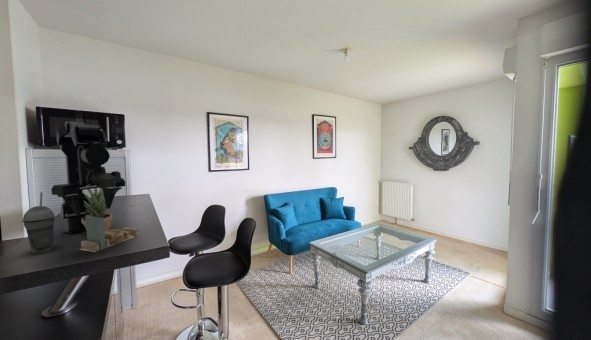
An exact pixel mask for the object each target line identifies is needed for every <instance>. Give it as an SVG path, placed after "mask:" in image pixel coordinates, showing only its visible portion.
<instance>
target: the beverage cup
mask: <svg viewBox="0 0 591 340" xmlns="http://www.w3.org/2000/svg"><path fill="white" fill-rule="evenodd" d="M55 218H56V215H55V213H54V212H53V210H52V209H51V208H50V207H48V206H44V205H43V191H41V192H40V193H39V205H37V206H33V207H31V208H28V210H27V211H25V213H24V215H23V218H22V223H23V226H24V228H25V231H26V234H27V239H28V243H29V246H30V251H31V253H32V254H33V255H37V254H43V253H47V252H50V251H52V250H53V248H54V224H55Z"/></svg>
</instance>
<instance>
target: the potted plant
mask: <svg viewBox="0 0 591 340" xmlns="http://www.w3.org/2000/svg"><path fill="white" fill-rule="evenodd" d="M86 190H87V192H88V193H89V196H88V195H87V194H86V193H85V192H84V191H83V194H84V195H85V196H86V198H87V199H88V200H89V201H90V203H91V204H92V205H91V204H88V203H87V202H85V201H84V203H85V204H86V205H87V206H86V205H85V204H84V205H85V206H86V207H87V208H88V209H89V210H91V211H89V210H88V209H86V210H87V211H88V212H89V213H91V214H89V215H86V217H90V216H92V217H101V218H103V220H104V231H106V230H109V229H111V222H112V220H113V219H114V218H113V213H109V212H108V211H107V210H108V209H107V207H106V204H105V199H104V194H103V189H101V188H99V192H98V188H93V190H94V191H93V190H92V189H86ZM106 211H107V212H106ZM86 217H85V218H86ZM85 218H82V219H81V221H82V224H84V226H85V228H86V220H85Z"/></svg>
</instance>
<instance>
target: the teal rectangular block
mask: <svg viewBox="0 0 591 340" xmlns="http://www.w3.org/2000/svg"><path fill="white" fill-rule="evenodd" d="M89 216H90V215H89ZM85 220H86V230H85V231H86V239H87V240H86V241H91V242H97V243H99V249H102V250H104V249H107V248H106V244H105V232H104V220H103V218H101V217H92V216H90V217H87V216H86V218H85ZM103 248H104V249H103Z"/></svg>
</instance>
